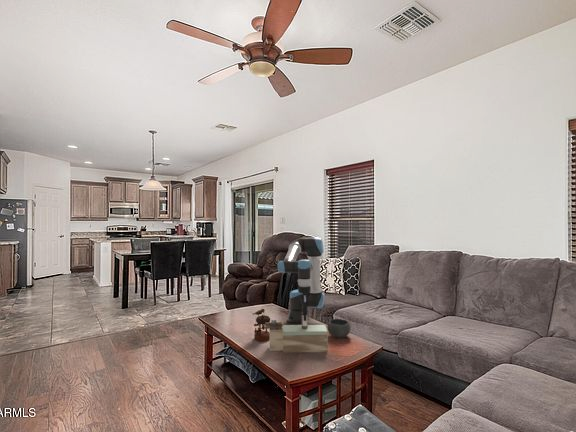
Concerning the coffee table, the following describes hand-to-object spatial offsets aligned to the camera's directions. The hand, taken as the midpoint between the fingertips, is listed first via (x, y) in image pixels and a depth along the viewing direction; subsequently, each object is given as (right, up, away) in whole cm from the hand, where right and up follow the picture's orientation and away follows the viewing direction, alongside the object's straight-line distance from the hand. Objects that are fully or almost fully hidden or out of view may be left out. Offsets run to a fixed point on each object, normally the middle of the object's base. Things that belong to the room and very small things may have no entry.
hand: (304, 324), depth 192 cm
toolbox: (-4, -14, 0) cm, 15 cm away
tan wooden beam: (-19, -2, 0) cm, 19 cm away
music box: (-26, -15, +16) cm, 34 cm away
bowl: (+24, -15, +19) cm, 34 cm away
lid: (0, -4, 0) cm, 4 cm away
